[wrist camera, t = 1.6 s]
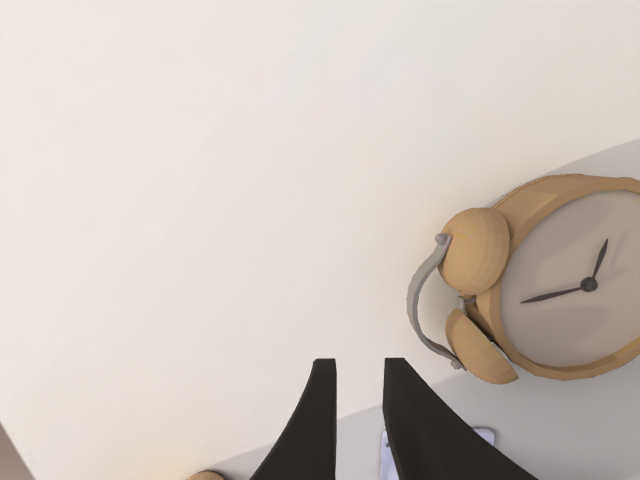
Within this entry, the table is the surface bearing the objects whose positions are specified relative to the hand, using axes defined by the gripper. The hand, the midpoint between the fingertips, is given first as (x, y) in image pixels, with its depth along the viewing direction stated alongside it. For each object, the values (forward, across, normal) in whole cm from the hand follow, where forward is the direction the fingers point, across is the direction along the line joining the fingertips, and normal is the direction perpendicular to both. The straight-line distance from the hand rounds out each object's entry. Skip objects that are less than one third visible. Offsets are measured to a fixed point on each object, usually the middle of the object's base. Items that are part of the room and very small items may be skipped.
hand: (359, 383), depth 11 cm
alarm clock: (+10, -11, 0) cm, 15 cm away
